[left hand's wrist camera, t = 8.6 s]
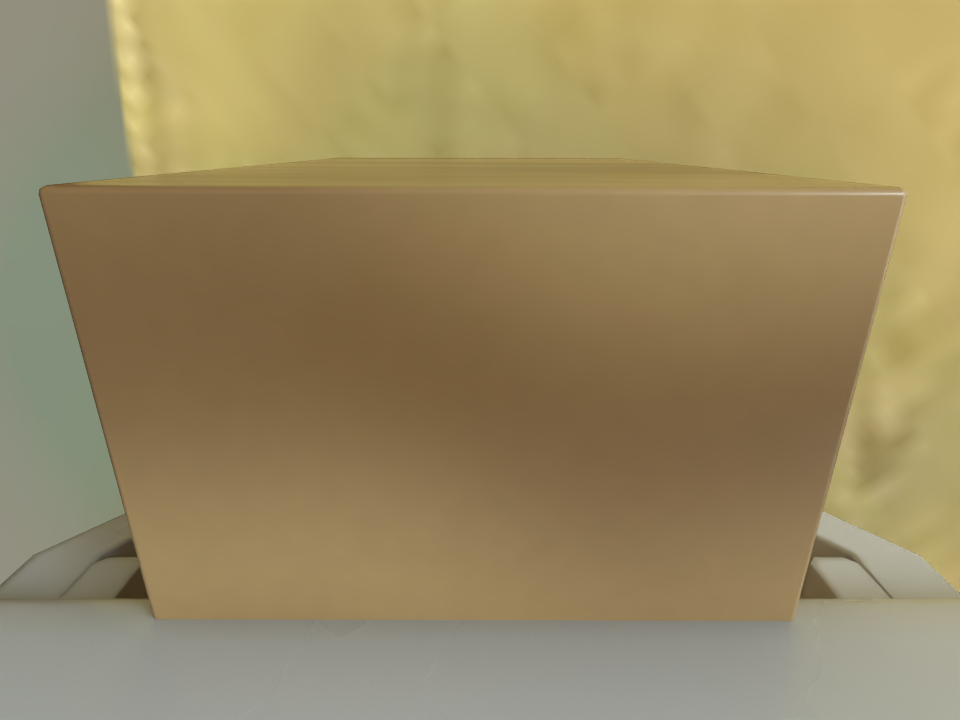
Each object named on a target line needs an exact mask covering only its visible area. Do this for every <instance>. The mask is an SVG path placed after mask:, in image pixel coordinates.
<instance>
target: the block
mask: <svg viewBox="0 0 960 720" xmlns="http://www.w3.org/2000/svg"><path fill="white" fill-rule="evenodd" d="M39 197H40V201H41V204H42V208H43V212H44V215H45V219H46V223H47V226H48V230H49V234H50V237H51V241H52V245H53V248H54V252H55V256H56V260H57V263H58V267H59V271H60V274H61V278H62V282H63V285H64V289H65V293H66V296H67V300H68V304H69V308H70V311H71V315H72V318H73V322H74V326H75V330H76V333H77V337H78V341H79V344H80V348H81V352H82V355H83V359H84V363H85V366H86V370H87V374H88V378H89V381H90V385H91V389H92V392H93V396H94V400H95V403H96V407H97V411H98V414H99V418H100V422H101V425H102V429H103V433H104V436H105V440H106V444H107V447H108V451H109V455H110V459H111V462H112V466H113V469H114V473H115V477H116V480H117V484H118V488H119V492H120V495H121V499H122V503H123V506H124V510H125V514H126V518H127V521H128V525H129V529H130V532H131V536H132V540H133V543H134V547H135V551H136V554H137V558H138V562H139V565H140V569H141V573H142V576H143V580H144V584H145V588H146V591H147V595H148V599H149V602H150V606H151V610H152V613H153V617H154V618H155V619H247V620H626V621H792V620H794V617H795V613H796V609H797V605H798V602H799V598H800V594H801V590H802V587H803V583H804V579H805V575H806V572H807V568H808V564H809V560H810V557H811V553H812V549H813V545H814V542H815V538H816V534H817V530H818V527H819V523H820V519H821V515H822V512H823V508H824V504H825V500H826V497H827V493H828V489H829V485H830V482H831V478H832V474H833V470H834V467H835V463H836V459H837V455H838V452H839V448H840V444H841V440H842V436H843V433H844V429H845V425H846V421H847V418H848V414H849V410H850V406H851V403H852V399H853V395H854V391H855V388H856V384H857V380H858V376H859V373H860V369H861V365H862V361H863V358H864V354H865V350H866V346H867V343H868V339H869V335H870V331H871V328H872V324H873V320H874V316H875V313H876V309H877V305H878V301H879V298H880V294H881V290H882V286H883V283H884V279H885V275H886V271H887V268H888V264H889V260H890V256H891V253H892V249H893V245H894V241H895V238H896V234H897V230H898V226H899V223H900V219H901V215H902V211H903V208H904V204H905V200H906V191H905V190H903V189H901V188H899V187H892V186H882V185H872V184H862V183H853V182H843V181H833V180H824V179H814V178H804V177H794V176H785V175H775V174H765V173H756V172H746V171H736V170H727V169H717V168H707V167H697V166H688V165H678V164H668V163H659V162H649V161H639V160H629V159H620V158H332V159H321V160H310V161H300V162H289V163H278V164H268V165H257V166H246V167H236V168H225V169H214V170H204V171H193V172H182V173H172V174H161V175H150V176H140V177H129V178H118V179H108V180H97V181H86V182H76V183H65V184H54V185H46V186H44V187H42V188H40V189H39Z"/></svg>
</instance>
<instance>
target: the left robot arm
mask: <svg viewBox="0 0 960 720" xmlns="http://www.w3.org/2000/svg"><path fill="white" fill-rule="evenodd" d="M0 720H960V593H959V592H958V591H957V590H956V589H955V588H954V587H953V586H952V585H951V584H950V583H949V582H947V581H946V580H945V579H944V578H943V577H942V576H941V575H940V574H939V573H938V572H937V571H936V570H935V569H933V568H932V567H931V566H930V565H929V564H928V563H927V562H926V561H925V560H924V559H923V558H922V557H921V556H919V555H917V554H915V553H913V552H910V551H908V550H906V549H904V548H902V547H899V546H897V545H895V544H893V543H891V542H889V541H886V540H884V539H882V538H880V537H878V536H876V535H873V534H871V533H869V532H867V531H865V530H862V529H860V528H858V527H856V526H854V525H852V524H849V523H847V522H845V521H843V520H841V519H838V518H836V517H834V516H832V515H830V514H828V513H825V512H822V515H821V519H820V523H819V527H818V530H817V534H816V538H815V542H814V545H813V549H812V553H811V557H810V560H809V564H808V568H807V572H806V575H805V579H804V583H803V587H802V590H801V594H800V598H799V602H798V605H797V609H796V613H795V617H794V620H792V621H626V620H247V619H155V618H154V617H153V613H152V610H151V606H150V602H149V599H148V595H147V591H146V588H145V584H144V580H143V576H142V573H141V569H140V565H139V562H138V558H137V554H136V551H135V547H134V543H133V540H132V536H131V532H130V529H129V525H128V521H127V518H126V514H123V515H121V516H119V517H116V518H114V519H112V520H110V521H108V522H105V523H103V524H101V525H99V526H97V527H94V528H92V529H90V530H88V531H86V532H83V533H81V534H79V535H77V536H75V537H72V538H70V539H68V540H66V541H64V542H61V543H59V544H57V545H55V546H52V547H50V548H48V549H46V550H44V551H41V552H39V553H37V554H35V555H33V556H32V557H31V558H30V559H29V560H28V561H26V562H25V563H24V564H23V565H22V566H21V567H20V568H19V569H18V570H17V571H15V572H14V573H13V574H12V575H11V576H10V577H9V578H8V579H7V580H6V581H4V582H3V583H2V584H1V585H0Z"/></svg>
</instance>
